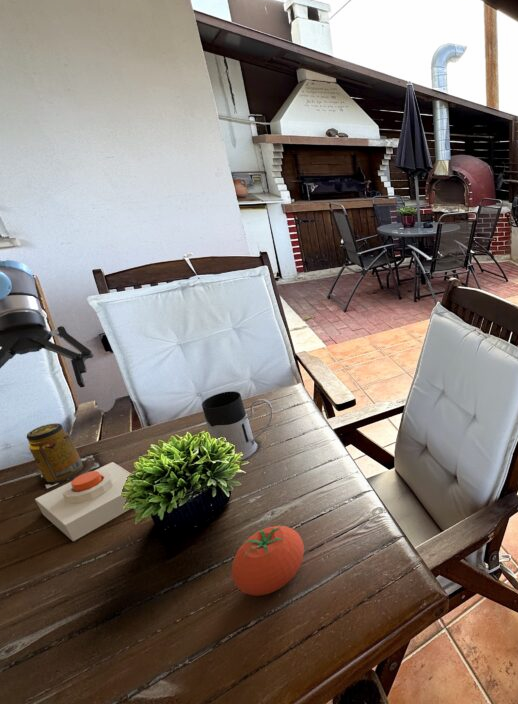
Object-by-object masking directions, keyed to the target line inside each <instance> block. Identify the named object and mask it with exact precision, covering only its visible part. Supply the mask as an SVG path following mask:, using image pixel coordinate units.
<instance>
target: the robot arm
mask: <svg viewBox="0 0 518 704" xmlns="http://www.w3.org/2000/svg"><path fill="white" fill-rule="evenodd" d="M43 315H44V313H43V308H42V306H41V303H40V300H39V295H38V290H37V287H36V280H35V277H34V276H33V273H32V271H31V269H30V267H29V266H28V265H27V264H25V263H23V262H21V261H18V260H13V259H12V260H11V259H7V260H0V369H2V367H4V365H5V364H7V363H8V362H9V361H10V360H12V359H13V358H14V357H15V356H16V355H27V354H29V353H37V352H40V351H41V350H42V349H44V350H47V351H49V352H53V353H55V354H58V355H60V356H63V357H64V358H67V359H70V362H71V365H72V370H73V372H74V378H75V381H76V383H77V385H78V386H79V388H85V387H86V385H85V382H84V378H83V374H85V373H87V372H88V369H87V366H86V360H88V359H92V358H94V355H95V354H94V353H93V352H92V351H91V349H89V348H88V347H87V346H85V345H84V344H82V343H81V342H80V341H78V340H77V339H76V338H74V337H73V336H72V335H70V334H69V333H68V331H67V329H66V327H64V326H63V325H62V326H61V325H60V326H58V327H57V328H56V329H52V330H48V327H47V324H46V320H45V316H43ZM53 337H56V338H58V339H63V340H64V341H65V342H66V343H67V344H69V345H70V346H71V347H73V348H74V349H75V350H77V351H78V352H80V353H78V352H75V351H73V350H71V349H68V348H66V347H63V346H61V345H59V344H56V343H54V342H52V341H50V340H52V338H53Z"/></svg>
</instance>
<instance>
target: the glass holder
mask: <svg viewBox="0 0 518 704" xmlns="http://www.w3.org/2000/svg"><path fill="white" fill-rule="evenodd" d="M259 402H263V403H266V404H267V405H268V406H269V410H270V418H269V421H268V423H267V424H266V425H265V427H264V428H263V429H261V431H260V432H258V433H257V434H256V435H255V436H253V431H252V429H251V424H250V420H249V418H252V417H253V416H254V413H255V412H254V405H255V404H256V403H259ZM201 408H202V411H203V417H204V421H205V423H206V427H207V430H208V433H209V436H210V435H211V436H212V437H213V438H216V439H218V438H220V437H225V438H226V440H227V441H228V442H229V443H231V444H233V445H235V452H242V453H243V457H242V460H241V461H244V460H245V459H247V458H249V457H250V456H252V455H253V454H254V453H255V452H256V451H257V449H258V444H257V442H255V440H256V439H258V438H259V436H260V435H261V434H263V433H264V432H265V431H266V430H267V429H268V428H269V426H270V425H271V423H272V420H273V417H274V411H273V406H272V404H271V402H270V401H269V400H268V399H265V398H258V399H256V400H254V401H253V402H252V403H251V404H250V413H251V414H249V415H248V414H247V411H246V409H245V405H244V403H243V398H242V395H241V393H240V392H239V391H233V390H232V391H231V390H230V391H223V392H220V393H217V394H213V395H211V396H209V397H208V398H206V399H204V400H203V401H202V402H201ZM211 436H210V437H211Z"/></svg>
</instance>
